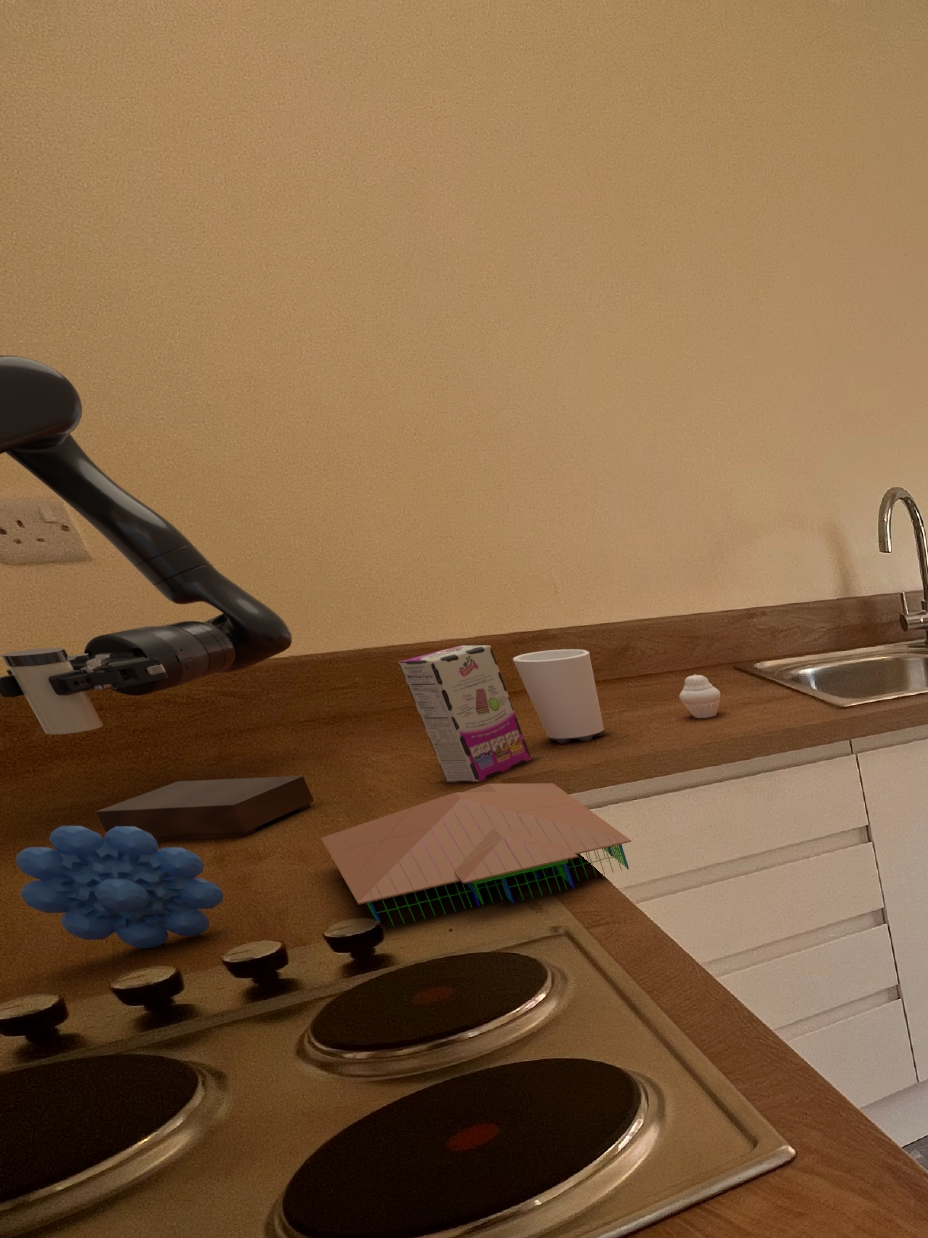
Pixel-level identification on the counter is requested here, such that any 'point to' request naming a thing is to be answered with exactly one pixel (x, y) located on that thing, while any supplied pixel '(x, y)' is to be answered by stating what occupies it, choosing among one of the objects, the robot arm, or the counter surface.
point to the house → (471, 842)
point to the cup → (562, 693)
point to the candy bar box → (466, 712)
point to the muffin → (700, 696)
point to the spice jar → (51, 691)
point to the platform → (209, 807)
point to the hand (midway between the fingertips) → (29, 687)
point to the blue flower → (118, 885)
